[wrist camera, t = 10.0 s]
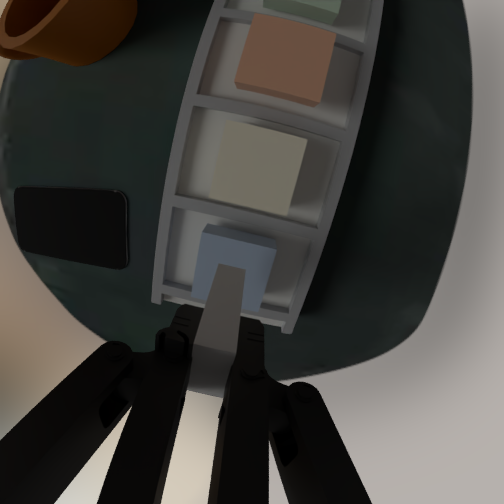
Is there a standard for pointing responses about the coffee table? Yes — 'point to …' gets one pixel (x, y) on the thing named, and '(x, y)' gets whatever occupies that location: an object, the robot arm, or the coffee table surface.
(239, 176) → the key cream
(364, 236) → the coffee table surface
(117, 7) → the mug
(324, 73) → the key terracotta
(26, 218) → the smartphone
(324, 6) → the key sage
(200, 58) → the keypad
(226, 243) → the key blue
